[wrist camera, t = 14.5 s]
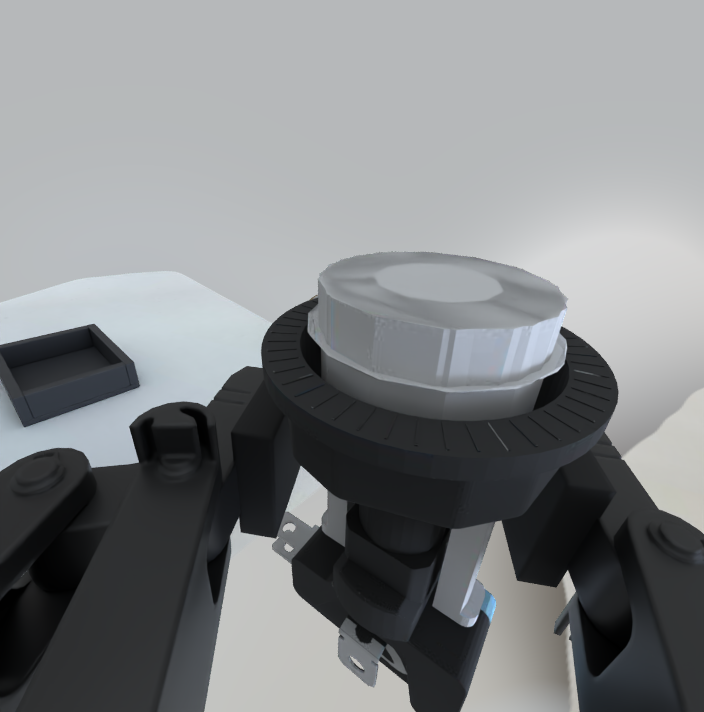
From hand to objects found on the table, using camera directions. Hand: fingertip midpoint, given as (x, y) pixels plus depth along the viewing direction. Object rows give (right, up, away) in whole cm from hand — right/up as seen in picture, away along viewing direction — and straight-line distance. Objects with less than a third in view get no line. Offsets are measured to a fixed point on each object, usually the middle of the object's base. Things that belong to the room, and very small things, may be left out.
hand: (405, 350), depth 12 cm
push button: (-1, -8, -1) cm, 8 cm away
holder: (-32, -3, +27) cm, 41 cm away
